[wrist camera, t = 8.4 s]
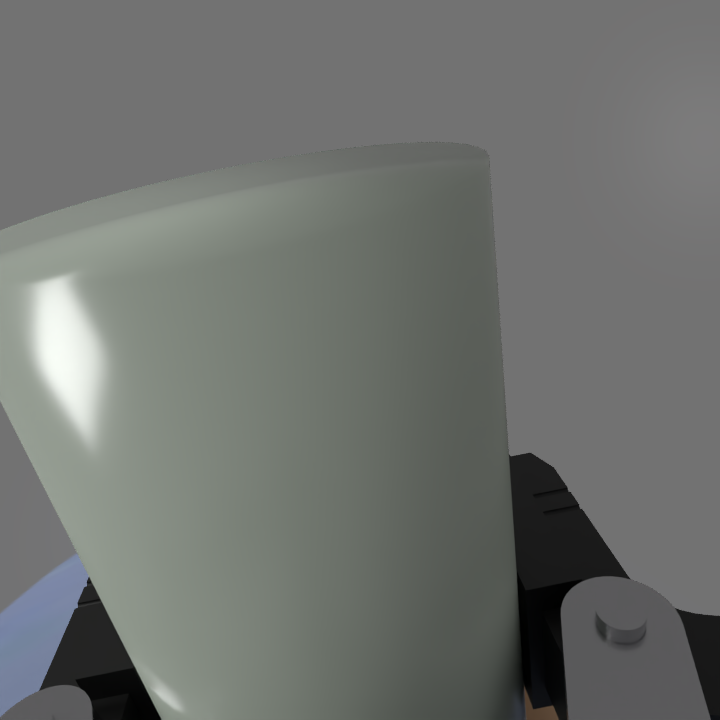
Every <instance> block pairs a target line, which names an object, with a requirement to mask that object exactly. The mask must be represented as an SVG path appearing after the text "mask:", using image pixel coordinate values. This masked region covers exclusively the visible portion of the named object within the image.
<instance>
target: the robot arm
mask: <svg viewBox="0 0 720 720" xmlns="http://www.w3.org/2000/svg"><path fill="white" fill-rule="evenodd" d="M509 464H510V479H511V494H512V509H513V524H514V540H515V555H516V570H517V585H518V600H519V615H520V630H521V645H522V661H523V676H524V687H525V689H526V692H527V694H528V697H529V700H530V702H531V705H532V708H533V710H534V709H538V708H543V707H548V706H553V707H554V709H555V711H556V714H557V716H558V719H559V720H720V616H712V615H702V614H695V613H690V612H686V611H682V610H679V609H676V608H674V607H673V606H672V604H671V603H670V602H669V601H668V600H667V599H666V598H664V597H663V596H662V595H661V594H659V593H658V592H657V591H655V590H653V589H652V588H650V587H648V586H646V585H644V584H642V583H639V582H637V581H634V580H631V579H630V578H629V577H628V575H627V574H626V573H625V571H624V570H623V568H622V567H621V565H620V564H619V562H618V561H617V559H616V558H615V557H614V555H613V554H612V552H611V551H610V549H609V548H608V546H607V545H606V543H605V542H604V541H603V539H602V537H601V536H600V535H599V533H598V532H597V530H596V529H595V527H594V526H593V524H592V523H591V521H590V520H589V518H588V517H587V516H586V514H585V513H584V511H583V510H582V509H580V507H579V504H578V502H577V501H576V500H575V498H574V496H573V495H572V494H571V492H568V488H567V486H566V485H565V483H564V482H563V480H562V479H561V478H560V476H559V475H558V473H557V472H556V470H555V469H554V467H552V466H551V465H549V464H547V463H546V462H544V461H543V460H541V459H539V458H538V457H536V456H535V455H533V454H532V453H526V454H521V455H516V456H510V455H509ZM0 720H161V718H160V716H159V714H158V712H157V710H156V708H155V706H154V704H153V702H152V700H151V698H150V696H149V694H148V692H147V690H146V688H145V686H144V684H143V682H142V680H141V678H140V676H139V674H138V672H137V670H136V668H135V666H134V664H133V662H132V660H131V658H130V656H129V654H128V652H127V651H126V649H125V647H124V645H123V643H122V641H121V639H120V637H119V635H118V633H117V631H116V629H115V627H114V625H113V623H112V621H111V619H110V617H109V615H108V613H107V611H106V609H105V607H104V605H103V603H102V601H101V599H100V597H99V595H98V593H97V591H96V589H95V587H94V585H93V583H92V581H91V579H90V577H89V578H88V580H87V587H84V589H83V592H82V594H81V596H80V599H79V601H78V608H76V609H75V610H74V612H73V615H72V617H71V619H70V621H69V624H68V626H67V628H66V631H65V633H64V635H63V638H62V640H61V642H60V644H59V647H58V649H57V651H56V654H55V656H54V658H53V660H52V663H51V665H50V667H49V670H48V672H47V674H46V676H45V679H44V681H43V683H42V686H41V688H40V690H39V691H38V692H36V693H34V694H32V695H30V696H28V697H26V698H25V699H23V700H21V701H20V702H18V703H17V704H16V705H14V706H13V707H12V708H10V709H9V710H8V711H7V712H6V713H5V714H3V715H2V716H1V717H0Z"/></svg>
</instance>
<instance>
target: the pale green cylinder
mask: <svg viewBox="0 0 720 720" xmlns="http://www.w3.org/2000/svg"><path fill="white" fill-rule="evenodd" d="M490 177H491V176H490V161H489V155H488V153H487V152H486V151H485V150H483V149H481V148H479V147H475V146H472V145H467V144H459V143H444V142H442V143H441V142H418V143H398V144H384V145H373V146H364V147H354V148H345V149H337V150H330V151H322V152H315V153H309V154H302V155H296V156H289V157H284V158H277V159H272V160H266V161H260V162H255V163H250V164H244V165H239V166H234V167H229V168H223V169H219V170H214V171H209V172H204V173H200V174H195V175H191V176H186V177H181V178H177V179H173V180H168V181H165V182H160V183H156V184H152V185H148V186H144V187H140V188H136V189H132V190H128V191H124V192H120V193H117V194H113V195H109V196H105V197H102V198H98V199H95V200H91V201H88V202H84V203H81V204H77V205H74V206H71V207H68V208H64V209H61V210H58V211H54V212H51V213H48V214H45V215H42V216H39V217H37V218H33V219H30V220H28V221H25V222H22V223H19V224H16V225H14V226H11V227H9V228H6V229H3V230H1V231H0V401H1V404H2V405H3V408H4V410H5V411H6V413H7V415H8V417H9V419H10V421H11V423H12V425H13V427H14V429H15V431H16V433H17V435H18V437H19V439H20V441H21V443H22V445H23V447H24V449H25V451H26V453H27V455H28V457H29V459H30V461H31V463H32V465H33V467H34V469H35V471H36V473H37V475H38V477H39V478H40V481H41V483H42V485H43V487H44V489H45V490H46V492H47V494H48V496H49V498H50V500H51V502H52V504H53V506H54V508H55V510H56V512H57V514H58V516H59V518H60V520H61V522H62V524H63V526H64V528H65V530H66V532H67V534H68V536H69V538H70V540H71V542H72V544H73V546H74V548H75V550H76V552H77V554H78V556H79V558H80V560H81V562H82V564H83V566H84V568H85V570H86V571H87V573H88V575H89V577H90V579H91V581H92V583H93V585H94V587H95V589H96V591H97V593H98V595H99V597H100V599H101V601H102V603H103V605H104V607H105V609H106V611H107V613H108V615H109V617H110V619H111V621H112V623H113V625H114V627H115V629H116V631H117V633H118V635H119V637H120V639H121V641H122V643H123V645H124V647H125V649H126V651H127V652H128V654H129V656H130V658H131V660H132V662H133V664H134V666H135V668H136V670H137V672H138V674H139V676H140V678H141V680H142V682H143V684H144V686H145V688H146V690H147V692H148V694H149V696H150V698H151V700H152V702H153V704H154V706H155V708H156V710H157V712H158V714H159V716H160V718H161V720H526V706H525V691H524V676H523V661H522V645H521V630H520V615H519V600H518V585H517V570H516V555H515V540H514V524H513V509H512V494H511V479H510V464H509V449H508V434H507V419H506V405H505V404H506V403H505V389H504V373H503V359H502V343H501V328H500V313H499V298H498V283H497V268H496V253H495V238H494V222H493V207H492V191H491V178H490Z"/></svg>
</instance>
